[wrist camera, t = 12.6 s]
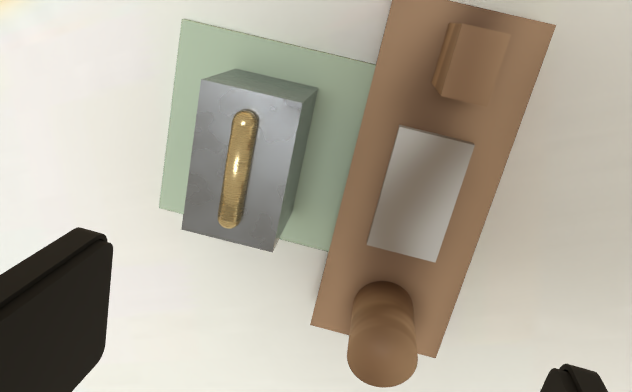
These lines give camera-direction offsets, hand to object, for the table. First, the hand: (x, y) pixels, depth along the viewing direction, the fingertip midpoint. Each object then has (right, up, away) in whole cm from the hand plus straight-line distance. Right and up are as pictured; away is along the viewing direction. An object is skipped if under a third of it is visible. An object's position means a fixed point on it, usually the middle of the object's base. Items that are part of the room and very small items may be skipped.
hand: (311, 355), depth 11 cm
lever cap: (-3, +7, +21) cm, 22 cm away
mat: (-3, +7, +21) cm, 23 cm away
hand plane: (+6, +4, +21) cm, 22 cm away
